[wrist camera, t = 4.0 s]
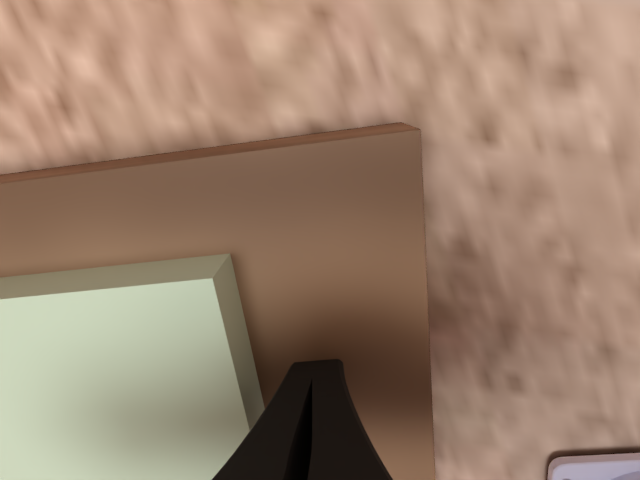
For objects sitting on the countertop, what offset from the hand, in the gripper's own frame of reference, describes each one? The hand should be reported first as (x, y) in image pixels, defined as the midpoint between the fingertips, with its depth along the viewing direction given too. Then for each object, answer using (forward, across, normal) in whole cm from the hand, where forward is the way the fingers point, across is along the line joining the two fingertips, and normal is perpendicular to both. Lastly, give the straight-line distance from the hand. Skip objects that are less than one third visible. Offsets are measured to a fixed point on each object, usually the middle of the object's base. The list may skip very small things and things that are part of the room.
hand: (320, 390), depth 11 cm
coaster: (+1, +6, 0) cm, 6 cm away
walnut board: (+4, +4, +1) cm, 5 cm away
